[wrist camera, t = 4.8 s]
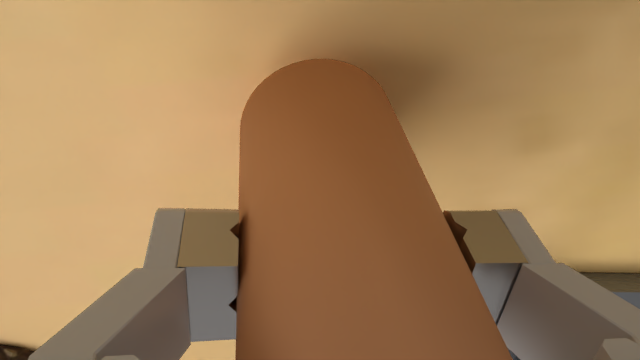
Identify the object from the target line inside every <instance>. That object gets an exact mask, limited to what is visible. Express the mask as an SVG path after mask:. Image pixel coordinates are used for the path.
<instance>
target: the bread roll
mask: <svg viewBox="0 0 640 360" xmlns="http://www.w3.org/2000/svg"><path fill="white" fill-rule="evenodd" d="M34 352H35V351H30V350H28V349H25V348H20V347H14V346H6V345H0V360H28V358H29V356H30V355H31V354H32V353H34Z"/></svg>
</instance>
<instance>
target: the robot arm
mask: <svg viewBox="0 0 640 360" xmlns="http://www.w3.org/2000/svg"><path fill="white" fill-rule="evenodd" d="M443 215H444V217H445V219H446V221H447V223H448V225H449V227H450V229H451V231H452V233H453V236H454V238H455V240H456V242H457V244H458V246H459V248H460V250H461V252H462V254H463V256H464V259H465V261H466V263H467V265H468V267H469V269H470V271H471V273H472V275H473V277H474V279H475V282H476V284H477V286H478V288H479V290H480V292H481V294H482V296H483V298H484V300H485V302H486V304H487V307H488V309H489V311H490V313H491V315H492V317H493V319H494V321H495V323H496V325H497V327H498V330H499V332H500V334H501V336H502V338H503V340H504V342H505V344H506V346H507V347H508V348H509V349H510V350H511V351H512V352H513V353H514V354H515V355H516V356H517V357H518V358H519V359H520V360H640V309H639V308H637V307H635V306H634V305H632V304H630V303H629V302H627V301H625V300H624V299H622V298H620V297H619V296H617V295H615V294H614V293H612V292H610V291H609V290H607V289H605V288H604V287H602V286H600V285H599V284H597V283H595V282H594V281H592V280H590V279H589V278H587V277H585V276H584V275H582V274H580V273H579V272H577V271H575V270H574V269H572V268H570V267H569V266H567V265H565V264H564V263H556V262H555V261H554V260H553V258H552V257H551V255H550V254H549V252H548V251H547V249H546V248H545V246H544V245H543V243H542V242H541V240H540V239H539V238H538V236H537V235H536V233H535V232H534V230H533V229H532V227H531V226H530V224H529V223H528V221H527V220H526V218H525V217H524V216H523V214H522V213H521V212H520V211H518V210H516V209H503V210H491V211H444V212H443ZM238 276H239V210H231V209H190V208H187V209H179V208H159V209H158V210H157V211H156V213H155V217H154V221H153V226H152V230H151V235H150V239H149V244H148V248H147V252H146V257H145V261H144V266H143V268H136V269H133V270H132V271H131V272H130V273H129V274H127V275H126V276H125V277H124V278H123V279H121V280H120V281H119V282H118V283H117V284H115V285H114V286H113V287H112V288H111V289H109V290H108V291H107V292H106V293H105V294H103V295H102V296H101V297H100V298H99V299H97V300H96V301H95V302H94V303H93V304H91V305H90V306H89V307H88V308H86V309H85V310H84V311H83V312H82V313H80V314H79V315H78V316H77V317H76V318H74V319H73V320H72V321H71V322H70V323H68V324H67V325H66V326H65V327H64V328H62V329H61V330H60V331H59V332H58V333H56V334H55V335H54V336H53V337H52V338H50V339H49V340H48V341H47V342H46V343H44V344H43V345H42V346H41V347H40V348H38V349H37V350H36V351H35V352H34V353H32V354H31V355H30V356H29V358H28V360H179V359H180V358H181V357H182V355H183V354H184V353H185V351H186V350H187V349H188V347H189V346H190V345H191V343H190V342H195V341H212V340H230V339H236V313H237V296H238Z"/></svg>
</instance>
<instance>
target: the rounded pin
mask: <svg viewBox="0 0 640 360" xmlns="http://www.w3.org/2000/svg"><path fill="white" fill-rule="evenodd" d="M236 360H513V359H512V357H511V355H510V353H509V350H508V348H507V346H506V344H505V342H504V340H503V338H502V336H501V334H500V332H499V330H498V327H497V325H496V323H495V321H494V319H493V317H492V315H491V313H490V311H489V309H488V307H487V304H486V302H485V300H484V298H483V296H482V294H481V292H480V290H479V288H478V286H477V284H476V282H475V279H474V277H473V275H472V273H471V271H470V269H469V267H468V265H467V263H466V261H465V259H464V256H463V254H462V252H461V250H460V248H459V246H458V244H457V242H456V240H455V238H454V236H453V233H452V231H451V229H450V227H449V225H448V223H447V221H446V219H445V217H444V215H443V213H442V210H441V208H440V206H439V204H438V202H437V200H436V198H435V196H434V194H433V192H432V190H431V188H430V185H429V183H428V181H427V179H426V177H425V175H424V173H423V171H422V169H421V167H420V165H419V162H418V160H417V158H416V156H415V154H414V152H413V150H412V148H411V146H410V144H409V142H408V139H407V137H406V135H405V133H404V131H403V129H402V127H401V125H400V123H399V121H398V119H397V116H396V114H395V112H394V110H393V108H392V106H391V104H390V102H389V100H388V98H387V96H386V94H385V92H384V90H383V89H382V88H381V86H380V85H379V84H378V83H377V82H376V81H375V80H374V79H373V78H372V77H371V76H370V75H369V74H367V73H366V72H365V71H363V70H361V69H359V68H358V67H356V66H353V65H351V64H348V63H346V62H341V61H337V60H330V59H311V60H304V61H300V62H297V63H293V64H290V65H288V66H286V67H283V68H281V69H279V70H278V71H276V72H274V73H273V74H271V75H270V76H269V77H267V78H266V79H265V80H264V81H263V82H262V83H261V84H260V85H259V86H258V87H257V88H256V89H255V90H254V92H253V93H252V94H251V96H250V98H249V99H248V101H247V103H246V105H245V108H244V110H243V114H242V118H241V125H240V162H239V276H238V296H237V313H236Z"/></svg>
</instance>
